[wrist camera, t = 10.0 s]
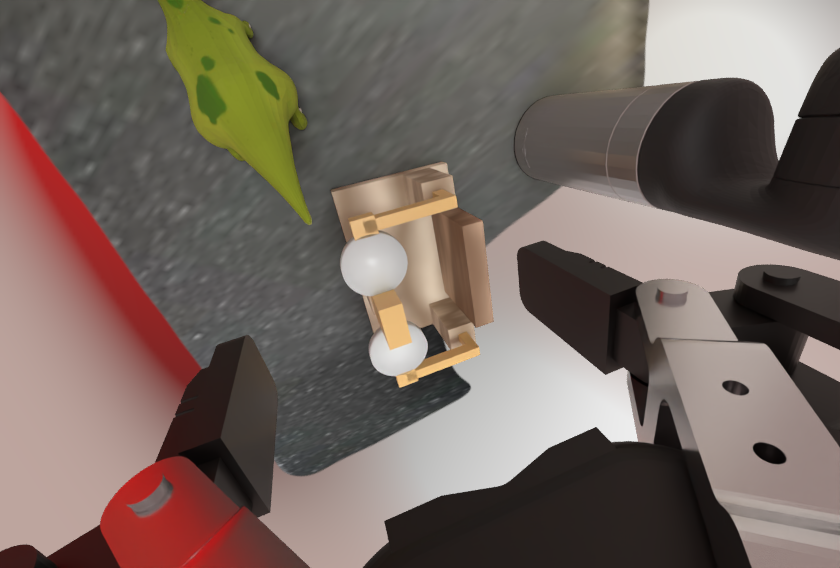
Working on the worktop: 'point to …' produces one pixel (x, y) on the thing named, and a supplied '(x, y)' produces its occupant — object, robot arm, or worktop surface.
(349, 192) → the display stand
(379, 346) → the glasses
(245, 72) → the toy
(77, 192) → the worktop surface
